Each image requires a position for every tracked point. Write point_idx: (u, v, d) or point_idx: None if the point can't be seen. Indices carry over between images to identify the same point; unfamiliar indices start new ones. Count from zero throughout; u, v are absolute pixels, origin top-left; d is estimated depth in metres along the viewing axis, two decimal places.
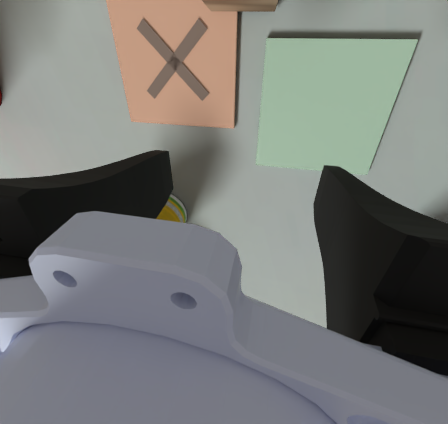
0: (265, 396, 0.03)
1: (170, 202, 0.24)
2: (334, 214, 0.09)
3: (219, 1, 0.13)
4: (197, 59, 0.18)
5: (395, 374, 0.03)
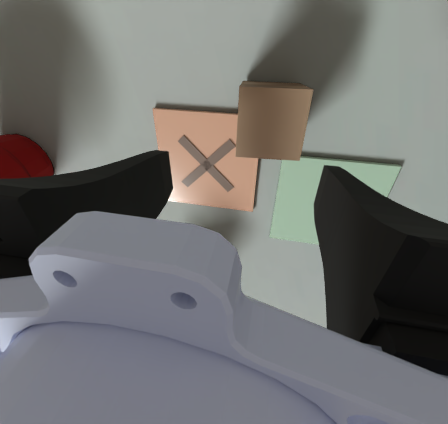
0: (265, 396, 0.03)
1: None
2: (335, 214, 0.09)
3: None
4: (226, 164, 0.22)
5: (395, 374, 0.03)
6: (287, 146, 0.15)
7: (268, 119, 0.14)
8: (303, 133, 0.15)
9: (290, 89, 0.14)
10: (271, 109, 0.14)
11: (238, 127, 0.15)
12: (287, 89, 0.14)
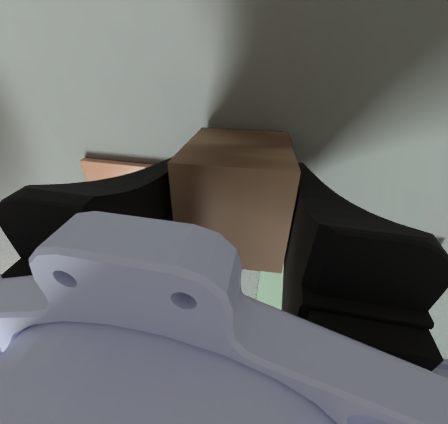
0: (265, 396, 0.03)
1: None
2: None
3: None
4: None
5: (395, 374, 0.03)
6: (260, 253, 0.09)
7: (224, 214, 0.08)
8: (285, 237, 0.08)
9: (258, 170, 0.07)
10: (228, 200, 0.08)
11: None
12: (253, 170, 0.07)
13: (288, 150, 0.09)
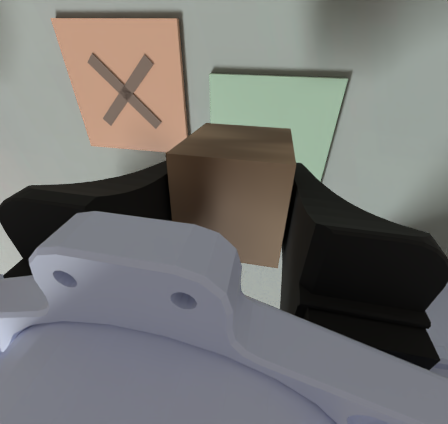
0: (265, 396, 0.03)
1: None
2: (290, 209, 0.09)
3: None
4: (147, 91, 0.18)
5: (395, 374, 0.03)
6: (256, 246, 0.09)
7: (221, 206, 0.08)
8: (281, 230, 0.08)
9: (254, 162, 0.07)
10: (224, 191, 0.08)
11: (173, 213, 0.09)
12: (248, 162, 0.07)
13: (287, 145, 0.09)
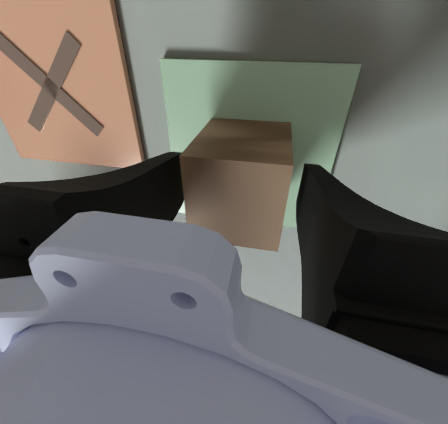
0: (265, 396, 0.03)
1: None
2: (311, 211, 0.09)
3: None
4: (79, 84, 0.13)
5: (395, 374, 0.03)
6: (259, 233, 0.10)
7: (228, 200, 0.10)
8: (281, 220, 0.10)
9: (257, 163, 0.09)
10: (231, 188, 0.09)
11: (186, 206, 0.10)
12: (252, 163, 0.09)
13: (287, 143, 0.10)
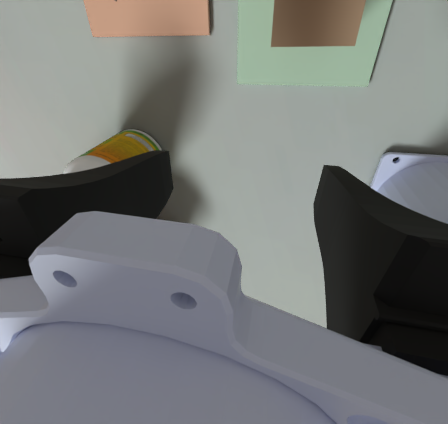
0: (265, 396, 0.03)
1: (143, 139, 0.22)
2: (335, 214, 0.09)
3: None
4: None
5: (395, 374, 0.03)
6: (340, 24, 0.12)
7: None
8: (363, 0, 0.11)
9: None
10: None
11: (276, 0, 0.12)
12: None
13: None
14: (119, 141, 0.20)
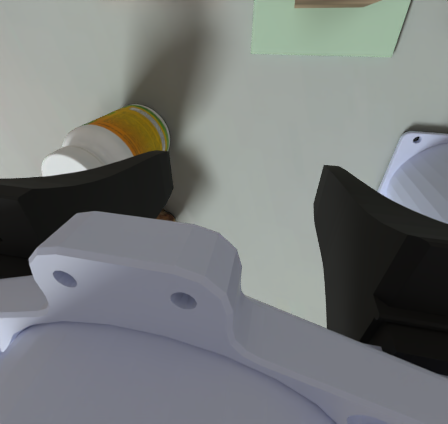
0: (265, 396, 0.03)
1: (148, 114, 0.20)
2: (335, 214, 0.09)
3: (312, 3, 0.13)
4: None
5: (395, 374, 0.03)
6: None
7: None
8: None
9: None
10: None
11: None
12: None
13: None
14: (123, 114, 0.19)
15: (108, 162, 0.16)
